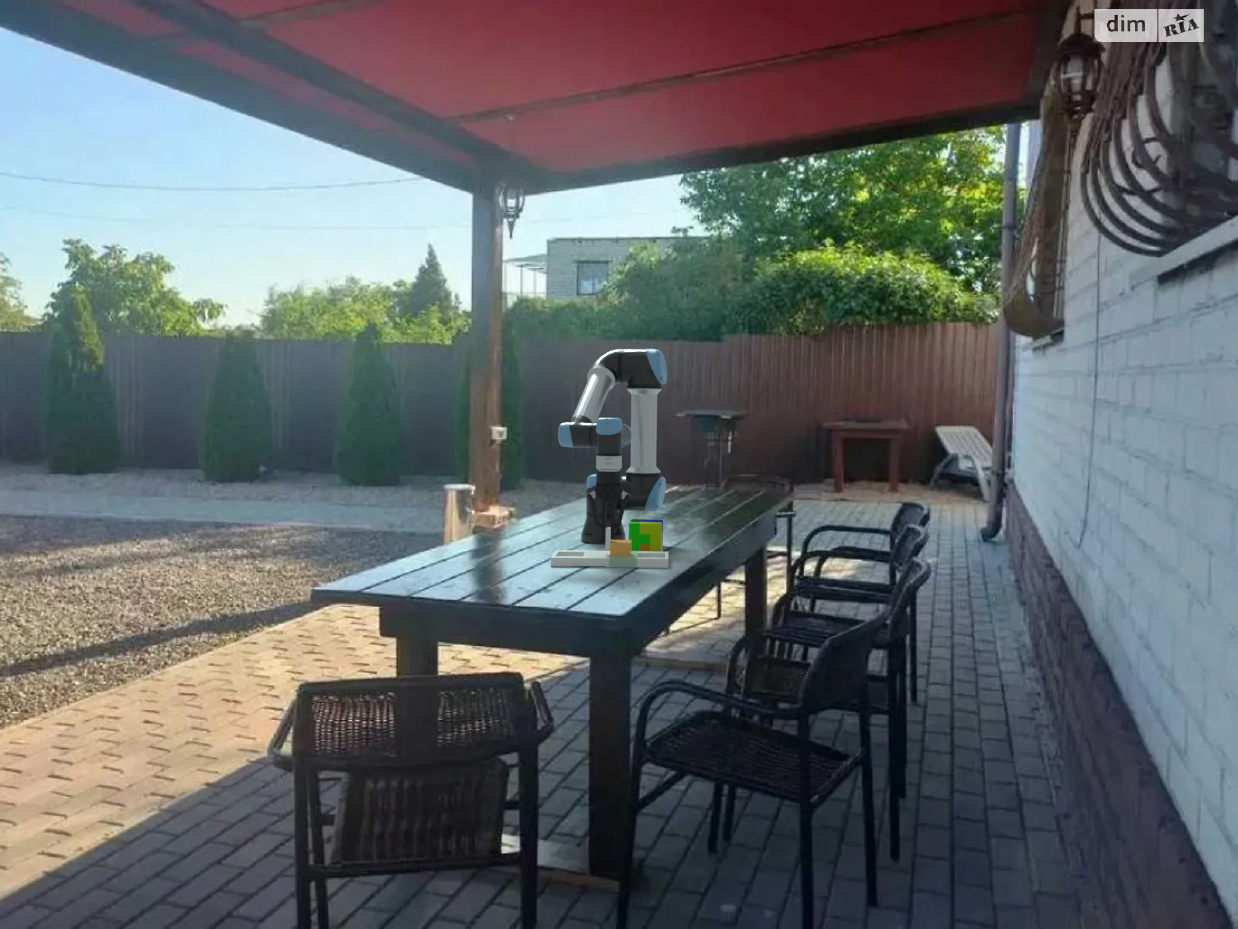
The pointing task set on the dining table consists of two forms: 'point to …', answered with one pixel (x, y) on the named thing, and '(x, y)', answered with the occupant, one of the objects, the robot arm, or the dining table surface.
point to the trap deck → (609, 559)
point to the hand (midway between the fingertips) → (608, 549)
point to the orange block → (620, 548)
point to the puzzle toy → (646, 535)
